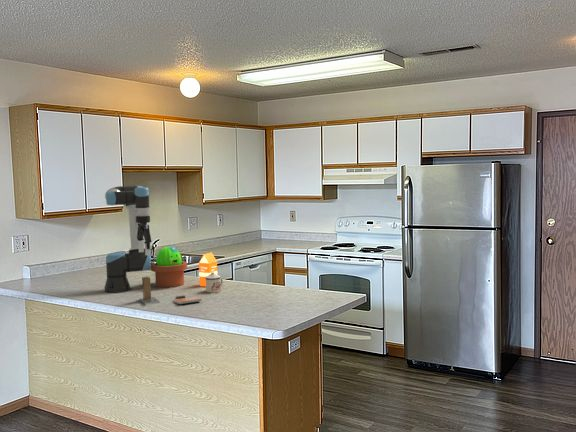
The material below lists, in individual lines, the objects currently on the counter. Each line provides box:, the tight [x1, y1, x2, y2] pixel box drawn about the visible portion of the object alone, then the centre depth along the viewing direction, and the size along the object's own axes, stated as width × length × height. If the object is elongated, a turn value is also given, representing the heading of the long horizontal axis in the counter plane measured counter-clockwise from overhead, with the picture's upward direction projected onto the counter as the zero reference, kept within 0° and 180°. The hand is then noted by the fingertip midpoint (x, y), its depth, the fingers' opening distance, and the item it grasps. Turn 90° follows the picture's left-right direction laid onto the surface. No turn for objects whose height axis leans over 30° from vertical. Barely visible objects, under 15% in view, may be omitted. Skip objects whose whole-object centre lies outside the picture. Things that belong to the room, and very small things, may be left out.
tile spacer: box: [175, 294, 186, 300], centre depth 309 cm, size 2×5×2 cm, turn 120°
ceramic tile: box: [172, 296, 202, 305], centre depth 299 cm, size 12×12×1 cm
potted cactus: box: [150, 245, 188, 288], centre depth 349 cm, size 22×22×25 cm
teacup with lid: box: [205, 272, 224, 294], centre depth 326 cm, size 12×9×12 cm
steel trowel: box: [138, 276, 160, 306], centre depth 303 cm, size 12×8×13 cm, turn 30°
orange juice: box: [198, 252, 218, 287], centre depth 345 cm, size 8×9×20 cm
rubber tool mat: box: [134, 299, 147, 307], centre depth 302 cm, size 16×12×1 cm
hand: (144, 253), depth 304 cm, fingers open, 13 cm apart
